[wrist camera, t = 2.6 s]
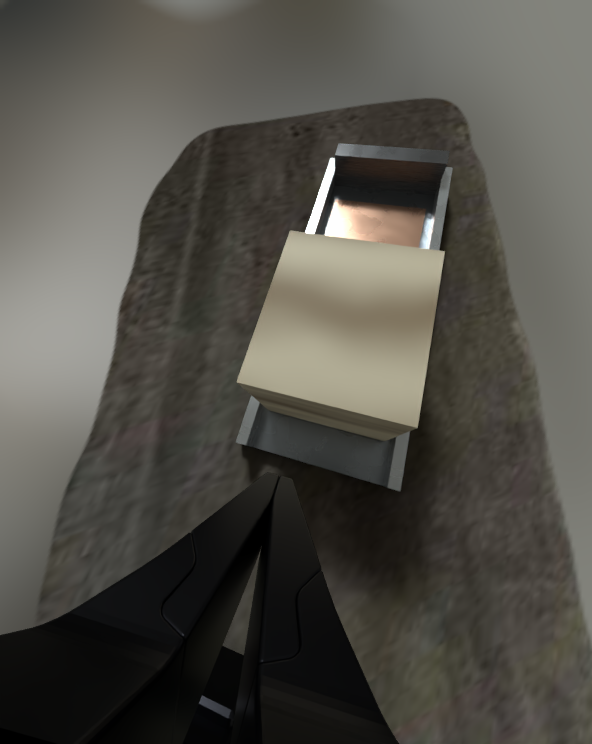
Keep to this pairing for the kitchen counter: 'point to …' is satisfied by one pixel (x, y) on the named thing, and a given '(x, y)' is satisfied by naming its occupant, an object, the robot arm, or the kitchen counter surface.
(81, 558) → the kitchen counter surface
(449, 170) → the graphite track
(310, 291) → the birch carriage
